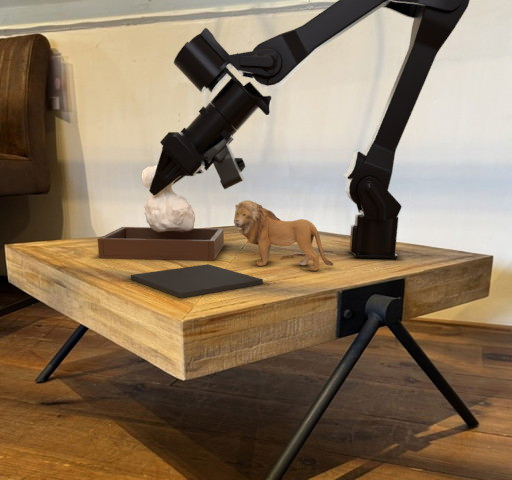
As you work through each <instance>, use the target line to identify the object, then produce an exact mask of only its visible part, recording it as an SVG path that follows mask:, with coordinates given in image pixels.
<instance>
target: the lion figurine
mask: <svg viewBox="0 0 512 480" xmlns="http://www.w3.org/2000/svg"><path fill="white" fill-rule="evenodd" d="M234 207H235V211H234V219H233V224H234V226H235V228H236V230H237V231H238V233H240V234H241V235H243V237H245V238H246V239H247V242H248V243H250V244H252V245H257V246H258V251H259V255H260V258H259V260H258V261H256V266H258V267H263V266H265V265H267V263H268V262H269V259H270V252H271V245H272V246H277V247H287V246H291V245H293V244H295V243H296V244H297V245H298V247H299V248H300V250H301V251H302V252H303V253H304V258H303V259H300V260H299V261H298V265H299V266H307V265H308V264H309V262H310V260H311V261H312V264H310V265H309V266H308V269H309V271H318V270H319V267H320V260H319V255H320V258H321V260H322V261H323V263H324V264H325V265H327V266H331V267H332V266H334V263H333V262H332V261H330V260H329V259H327V258H326V256H325V255H324V250H323V244H322V240H321V235H320V234H319V230H318V229H317V227H316V226H315V224H314V223H313V222H312V221H309V220H307V219H304V218H301V219H296V220H290V221H289V220H281V219H280V218H278V217H277V216H276V215H275V213H274V212H273V211H271V210H269V209H267V208H265V207H263V206H262V205H261V204H259V203H257V202H254V201H252V200H242V201H240V202H238V204H235V206H234ZM314 238H315V243H316V245H317V249H318V252H319V254H318V252H317V251H316V250H315V249H314V246H313V242H314Z"/></svg>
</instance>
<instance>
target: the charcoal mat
mask: <svg viewBox="0 0 512 480" xmlns="http://www.w3.org/2000/svg"><path fill="white" fill-rule="evenodd" d="M130 280H132V281H135V282H137V283H140V284H143V285H145V286H148V287H151V288H153V289H155V290H159V291H161V292H164V293H165V294H168V295H172V296H175V297H176V298H179V299H184V298H190V297H196V296H201V295H202V296H203V295H207V294H213V293H218V292H219V293H220V292H224V291H225V292H226V291H230V290H236V289H242V288H248V287H252V286H258V285H263V284H264V279H263V278H260V277H256V276H253V275H249V274H245V273H243V272H238V271H235V270H231V269H227V268H224V267H220V266H216V265H214V264H213V265H212V264H210V263H206V264H199V265H193V266H184V267H178V268H171V269H163V270H156V271H155V270H154V271H149V272H141V273H135V274H130Z"/></svg>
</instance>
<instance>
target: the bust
mask: <svg viewBox="0 0 512 480" xmlns="http://www.w3.org/2000/svg"><path fill="white" fill-rule="evenodd" d="M157 165H158V164H155V165H152V166H149V165H148V166H147V167H146V168H144V169H143V170H142V173H141V181H142V184H143V186H144V187H145V188H147V189H150V186H151V183H152V180H153V177H154V174H155V171H156V168H157ZM172 186H174V185H173V182H172V183H171V184H170V185H168V186H167V187H166V188H164V189H163V190H162V191H160V192H159V193H158V194H156V195H152V194H151V193H150V194H149V196H148V197H147V199H145V203H144V216H145V220H146V223H147V224H148V226H149V227H151V228H152V229H153V230H154V231H157V232H165V231H180V232H184V231H190V230H192V229H193V228H195V222H196V214H195V211H194V208H193V207H192V205H191V204H190V201H189V200H188V198H186V197H185V196H182V195H178V194H177V193H176V192H175V191H174V190H173V188H172Z"/></svg>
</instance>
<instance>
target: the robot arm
mask: <svg viewBox="0 0 512 480" xmlns="http://www.w3.org/2000/svg"><path fill="white" fill-rule="evenodd" d="M470 1H471V0H336V2H334V3H333V4H332V5H330V6H328V7H327V8H325V9H324V10H322V11H321V12H320V13H318V14H317V15H316V16H314V17H313V18H311V19H310V20H308V21H307V22H305V23H304V24H303V25H300V26H299V27H296V28H294V29H291V30H288V31H285V32H283V33H280V34H277V35H275V36H273V37H271V38H268V39H266V40H264V41H262V42H260V43H259V44H257V45H256V46H254V48H253V49H252V50H251V51H245V52H239V53H238V52H237V53H233V54H230V53H229V52H228V51H227V50H225V48H224V47H223V46H222V45H221V44H220V42H219V41H218V40H217V39H216V38H215V36H214V34H213V33H212V32H211V31H210V30H209V29H208V28H207V27H204V28H203V30H202V31H200V33H198V34H196V35H195V36H194V37H192V39H190V40H189V41H186V42H185V43H184V45H183V46H182V47H181V48H180V50H179V51H178V53H177V54H176V56H175V58H174V61H173V64H174V66H175V67H176V68H177V69H178V70H179V71H180V72H181V73H182V74H183V75H184V76H185V77H186V78H187V79H188V81H190V83H192V85H193V86H194V87H195V88H196V89H197V90H198V91H199V92H200V93H201V94H203V93H205V92H206V91H207V90H208V92H210V93H211V94H213V93H215V92H216V91H217V90H218V89H219V88H220V87H221V86H222V85H223V84H224V83H225V81H226V80H227V79H228V78H230V79H229V80H228V81H227V82H226V83H225V84H224V86H223V87H222V88H221V89H220V90H219V91H218V93H216V94H215V95H214V96H213V98H212V99H211V100H210V101H209V102H208V103H207V105H206V106H203V105H202V107H201V108H200V109H199V110H198V113H199V114H197V116H196V117H195V118H194V119H193V120H192V122H191V123H189V125H188V126H187V127H183V128H182V129H181V131H180V132H179V131H169V132H167V133H166V135H164V137H163V138H162V139H161V140H160V141H159V143H160V144H161V146H162V147H161V153H160V155H159V159H158V162H157V164H156V165H157V168H156V171H155V174H154V177H153V180H152V183H151V186H150V188H149V190H148V191H149V193H150V195H151V194H152V195H156V194H158V193H159V192H160V191H162V190H163V189H164V188H166V187H167V186H168V185H170V184H171V183H172V182H173V185H172V186H174V185H175V184H176V183H178V182H179V181H181V180H182V179H184V178H185V177H194V176H197V175H201V174H203V173H204V171H203V170H202V168H203V169H204V170H205V171H206V172H208V171H209V170H210V169H211V168H212V167H213V166H214V168H215V171H216V172H217V175H218V177H219V179H220V181H219V182H220V185H221V186H222V188H223V189H224V190H227V189H229V188H231V187H233V186H235V185H237V184H239V183H242V182H243V181H244V180H245V177H244V174H243V173H242V172H243V171H244V170H245V169H246V167H247V165H246V162H245V161H244V159H243V157H235V154H234V153H233V151H232V149H231V147H230V144H231V143H232V142H233V141H234V137H235V134H236V133H238V131H239V130H240V129H241V128H242V127H243V126H244V125H245V124H246V122H247V121H249V119H250V118H251V117H252V116H253V115H254V113H256V111H257V110H258V109H259V110H260V111H261V112H262V113H263V114H264V115H265V116H266V117H270V116H271V103H272V99H273V98H272V96H271V95H263V93H261V92H260V91H259V90H258V88H256V86H255V85H254V84H253V83H252V82H251V81H248V82H246V83H245V84H243V83H242V82H241V81H240V80H239V78H237V77H236V76H235V75H234V74H233V72H231V71H230V70H231V69H233V70H235V72H237V74H238V75H239V76H240V77H243V78H248V79H253V81H255V83H256V85H258V86H260V87H261V88H263V89H266V90H275V89H278V88H280V87H281V86H282V85H283V84H284V83H286V82H287V81H288V79H290V78H291V77H292V76H293V75H294V74H295V73H296V72H297V71H298V70H299V69H300V68H301V67H302V66H303V65H304V63H305V62H307V60H309V58H310V57H312V56H313V54H315V53H316V52H318V51H320V50H321V49H322V48H324V47H325V46H327V45H328V44H329V43H331V42H333V41H334V40H335V39H337V38H338V37H340V36H341V35H343V34H345V32H347V31H349V30H350V29H352V28H353V27H355V26H356V25H358V24H359V23H360V22H362V21H363V20H365V19H366V18H368V17H369V16H371V15H372V14H374V13H375V12H376V11H378V10H380V9H382V8H383V9H386V10H390V11H392V12H395V13H396V14H399V15H401V16H404V17H407V18H409V19H413V21H412V26H411V32H410V37H409V45H408V49H407V51H406V54H405V57H404V59H403V60H402V64H401V67H400V68H399V71H398V74H397V76H396V78H395V81H394V84H393V86H392V88H391V90H390V93H389V96H388V98H387V100H386V102H385V105H384V108H383V111H382V112H381V115H380V118H379V120H378V123H377V125H376V127H375V130H374V133H373V135H372V137H371V140H370V142H369V143H368V144H367V146H366V148H365V149H364V150H363V152H361V151H358V150H357V151H356V150H355V151H353V152H352V155H351V161H350V164H349V167H348V169H347V170H346V171H345V172H344V174H343V177H344V178H346V180H345V185H344V190H345V193H346V195H347V197H348V198H349V199H350V201H351V202H353V203H354V204H355V205H356V208H357V211H358V213H356V214H355V215H354V216H355V217H354V223H351V225H350V236H349V251H350V252H351V254H353V256H354V258H356V259H398V256H399V255H398V254H397V253H396V249H397V240H398V239H397V237H398V227H399V226H398V225H399V214H400V212H401V209H402V204H401V203H400V202H399V201H398V200H397V199H396V198H395V197H394V196H393V195H392V193H391V192H390V191H389V188H390V184H391V179H392V175H393V170H394V163H395V156H396V151H397V148H398V146H399V144H400V141H401V139H402V137H403V134H404V132H405V129H406V127H407V125H408V122H409V121H410V118H411V116H412V113H413V111H414V108H415V106H416V103H417V102H418V99H419V97H420V94H421V92H422V90H423V87H424V85H425V83H426V80H427V78H428V75H429V73H430V71H431V68H432V66H433V64H434V62H435V59H436V57H437V55H438V53H439V51H440V50H441V48H442V47H443V46H444V44H445V43H446V41H447V40H448V38H449V37H450V36H451V34H452V33H453V31H454V30H455V28H456V27H457V25H458V23H459V22H460V21H461V19H462V17H463V15H464V14H465V12H466V10H467V9H468V7H469V4H470Z"/></svg>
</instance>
